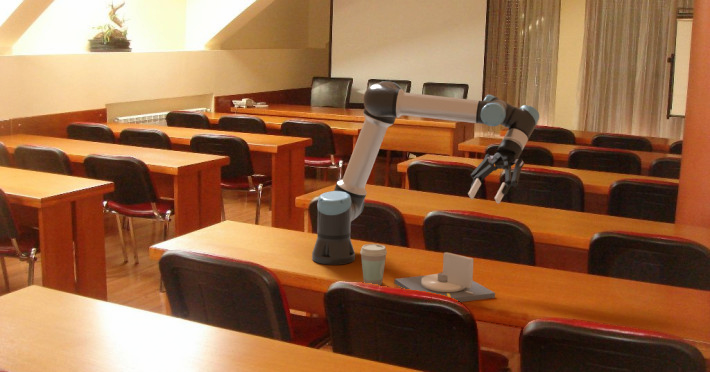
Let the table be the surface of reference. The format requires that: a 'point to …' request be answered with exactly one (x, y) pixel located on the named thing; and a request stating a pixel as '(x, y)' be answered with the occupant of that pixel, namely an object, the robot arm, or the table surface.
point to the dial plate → (464, 295)
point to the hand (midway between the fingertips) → (483, 198)
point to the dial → (451, 275)
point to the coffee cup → (373, 263)
